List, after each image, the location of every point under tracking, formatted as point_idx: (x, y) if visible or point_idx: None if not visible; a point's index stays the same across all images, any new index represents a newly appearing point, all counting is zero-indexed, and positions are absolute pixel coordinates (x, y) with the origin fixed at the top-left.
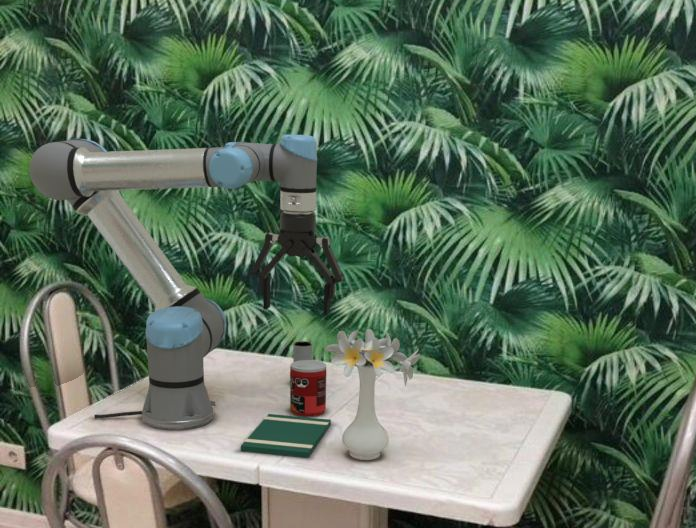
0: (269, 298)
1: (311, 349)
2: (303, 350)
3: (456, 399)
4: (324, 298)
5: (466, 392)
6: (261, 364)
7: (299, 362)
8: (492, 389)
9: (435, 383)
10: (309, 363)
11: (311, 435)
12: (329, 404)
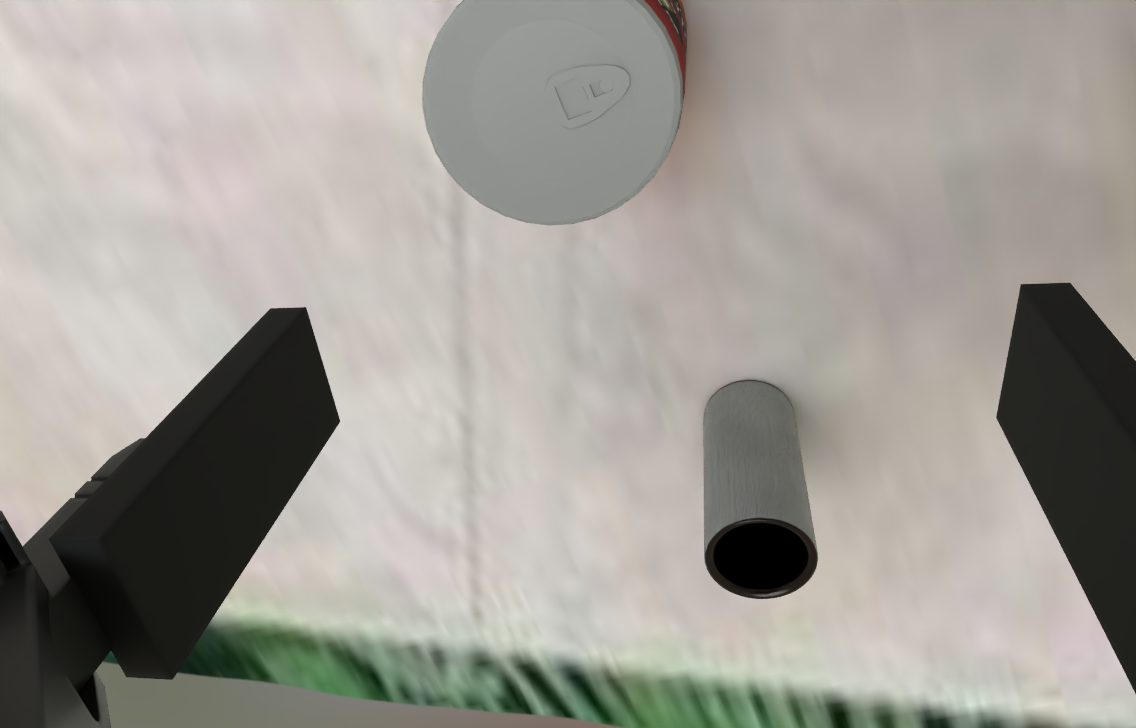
0: (1038, 459)
1: (704, 535)
2: (740, 503)
3: (89, 418)
4: (208, 411)
5: None
6: (1015, 612)
7: (635, 154)
8: None
9: None
10: (569, 175)
11: None
12: None
